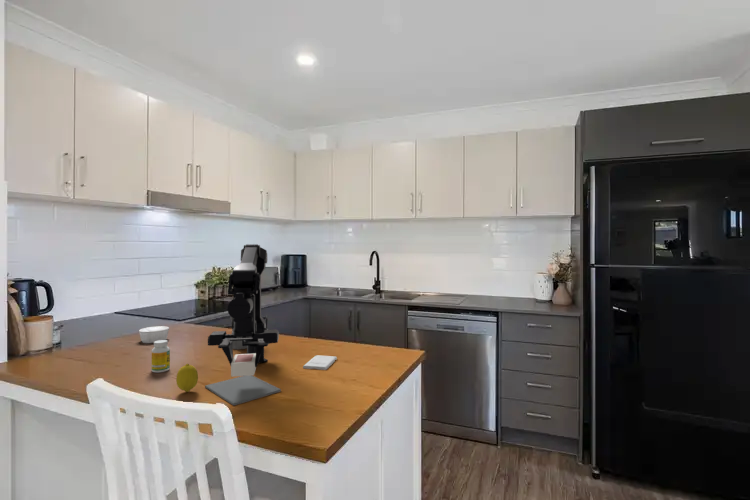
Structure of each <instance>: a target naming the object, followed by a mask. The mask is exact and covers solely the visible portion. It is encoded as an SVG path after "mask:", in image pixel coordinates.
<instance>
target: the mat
mask: <svg viewBox="0 0 750 500" xmlns="http://www.w3.org/2000/svg"><path fill="white" fill-rule="evenodd" d="M204 387H205V389H207V390H208V391H210V392H212V393H213V394H215V395H216V396H218V397H219V398H221V399H222V400H224V401H226V402H227V403H229V404H230V405H232V406H237V405H240V404H244V403H247V402H250V401H254V400H258V399H261V398H263V397H267V396H270V395H274V394H277V393H281V392H282V389H281V388H279V387H277V386H275V385H273V384H271V383H268V382H267V381H264V380H262V379H261V378H258V377H257V376H255V375H250V376H236V377H233V378H229V379H226V380H221V381H218V382H214V383H209V384H207V385H206V384H205V385H204Z"/></svg>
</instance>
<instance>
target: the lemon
mask: <svg viewBox="0 0 750 500" xmlns="http://www.w3.org/2000/svg"><path fill="white" fill-rule="evenodd" d="M175 381H176V385H177V388H179V389H180V390H182V391H184V392H185V393H189V392H190V391H191V390H193V389H194V388H195V387H196V386H197V384H198V381H199V373H198V370H197V368H196V367H195V366H194V365H192V364H189V363H186V364H185V365H183V366H181V367H180V368H179V369H178V371H177V374H176V380H175Z"/></svg>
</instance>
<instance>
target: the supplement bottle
mask: <svg viewBox="0 0 750 500" xmlns="http://www.w3.org/2000/svg"><path fill="white" fill-rule="evenodd" d="M168 343H169V342H168V340H167V339H166V340H159V341H155V342H154V343H153V348H152V349H151V354H150V355H151V365H150V366H151V368H150V370H151V372H152V373H159V374H160V373H164V372H165V373H166V372H167V371H169V370H170V368H171V349H170V347H169V346H168Z"/></svg>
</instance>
